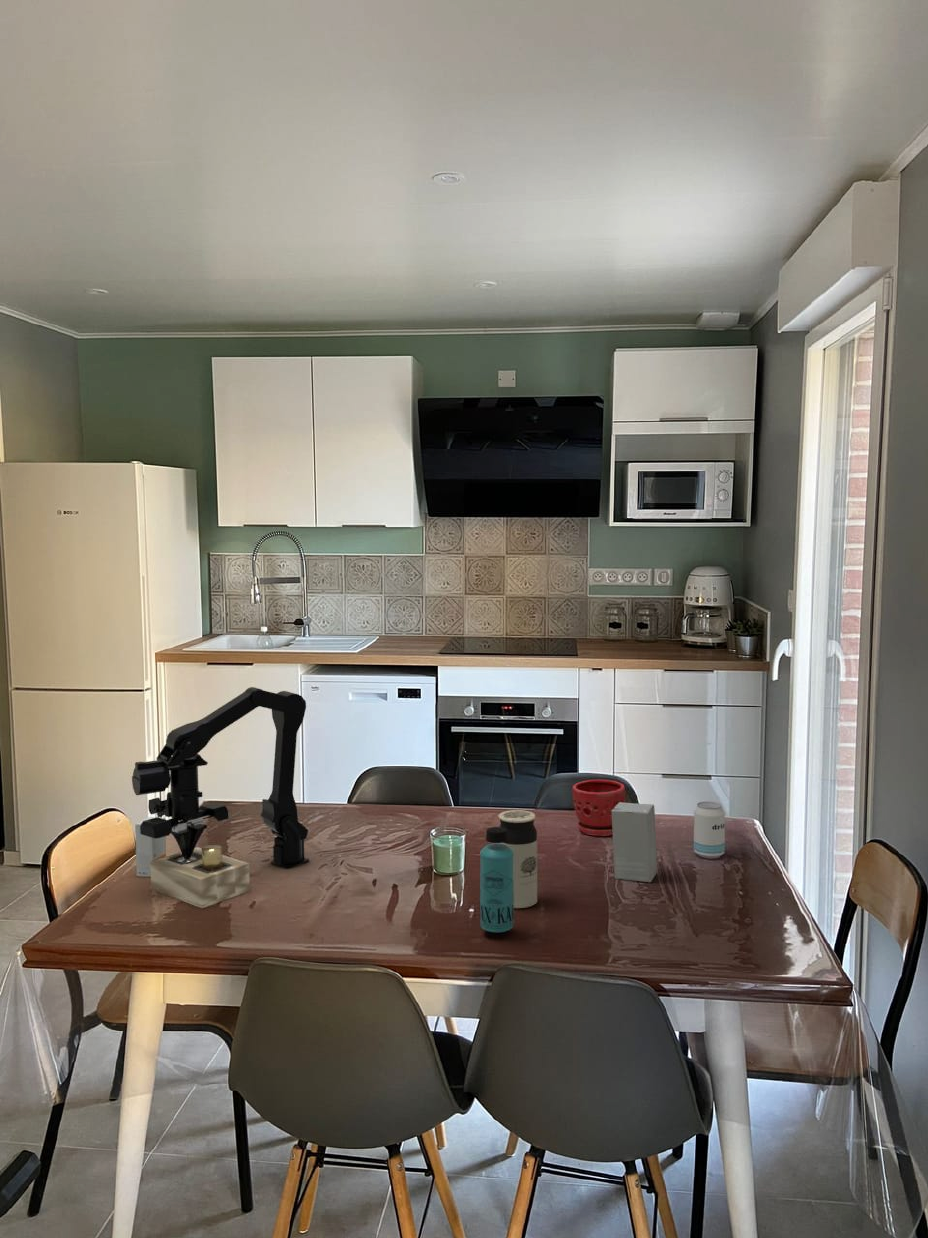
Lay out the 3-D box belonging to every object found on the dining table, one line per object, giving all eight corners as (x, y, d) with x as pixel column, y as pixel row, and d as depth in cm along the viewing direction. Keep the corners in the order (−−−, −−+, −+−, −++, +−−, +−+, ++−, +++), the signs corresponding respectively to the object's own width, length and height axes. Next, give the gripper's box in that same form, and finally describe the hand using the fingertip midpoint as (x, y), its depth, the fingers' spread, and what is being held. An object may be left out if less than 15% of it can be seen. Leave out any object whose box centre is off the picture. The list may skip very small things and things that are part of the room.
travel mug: (491, 898, 190) (490, 812, 189) (526, 892, 193) (525, 807, 192) (508, 912, 183) (507, 822, 181) (544, 905, 186) (543, 817, 184)
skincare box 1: (153, 878, 205) (151, 825, 204) (136, 876, 205) (134, 824, 205) (167, 868, 211) (165, 817, 210) (150, 867, 211) (148, 816, 211)
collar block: (198, 873, 207) (197, 847, 207) (249, 891, 196) (248, 863, 195) (151, 889, 198) (150, 861, 197) (201, 908, 186) (200, 879, 186)
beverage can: (713, 862, 210) (713, 810, 209) (687, 855, 215) (687, 804, 214) (730, 855, 214) (730, 805, 214) (704, 848, 220) (705, 799, 219)
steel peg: (190, 877, 202) (189, 854, 202) (201, 880, 200) (200, 858, 199) (174, 882, 199) (173, 859, 199) (185, 886, 197) (184, 863, 196)
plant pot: (588, 821, 243) (587, 776, 243) (633, 829, 236) (633, 783, 235) (563, 833, 233) (563, 786, 232) (610, 842, 225) (610, 794, 224)
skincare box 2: (657, 874, 203) (657, 803, 202) (649, 885, 196) (649, 812, 195) (619, 869, 206) (619, 799, 205) (611, 879, 200) (610, 808, 199)
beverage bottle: (478, 927, 175) (476, 824, 174) (512, 925, 176) (511, 822, 174) (481, 941, 169) (480, 834, 167) (517, 940, 169) (516, 833, 168)
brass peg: (214, 867, 196) (213, 844, 196) (226, 870, 194) (225, 847, 194) (198, 872, 193) (197, 848, 193) (210, 876, 191) (209, 852, 190)
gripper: (198, 774, 210) (201, 841, 211) (124, 791, 196) (127, 863, 197) (229, 781, 203) (231, 850, 205) (154, 799, 189) (157, 874, 190)
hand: (187, 859), depth 199 cm, fingers closed, pressing on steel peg
